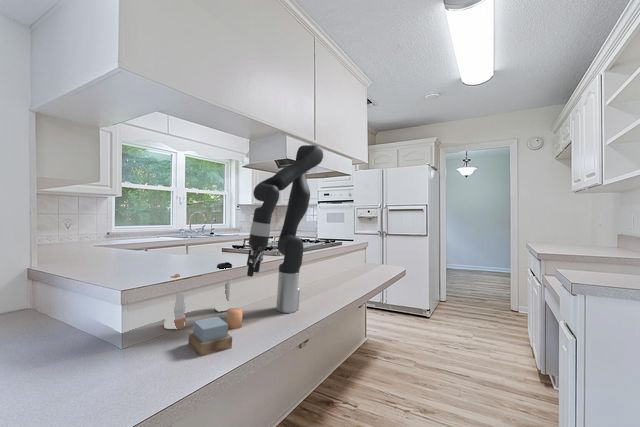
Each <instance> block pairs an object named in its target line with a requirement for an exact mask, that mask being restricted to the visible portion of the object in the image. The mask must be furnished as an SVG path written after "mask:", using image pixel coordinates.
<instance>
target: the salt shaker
mask: <svg viewBox="0 0 640 427" xmlns="http://www.w3.org/2000/svg"><path fill="white" fill-rule="evenodd" d="M180 275H181V274H180V273H175V275H171V276H170V277H171V278H177V277H180ZM184 299H185V292H179V293H177V294H176V302H175V307H174V314H175V315H174V316H175V320H174V323H175V326H176V328H177V329H176V330H175V331H177V330H181V329H183V328H185V327H184V322H185V323H186V319H185V317H184V312H185V313H186V301H185V302H184Z"/></svg>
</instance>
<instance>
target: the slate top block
mask: <svg viewBox="0 0 640 427" xmlns="http://www.w3.org/2000/svg"><path fill="white" fill-rule="evenodd" d="M192 326H193V329H192V332H193V334H194V335H195V336H196V337H197V338H198V339H199V340H200V341H201V342H202V343H203V342H207V341H212V340H216V339H220V338H224V337H227V336H228V334H229V333H228V332H229V328H228V324H227V321H224V320H223V319H221V318H220V317H219V316H215V317H210V318H204V319H198V320H194V321H193V325H192Z"/></svg>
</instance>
